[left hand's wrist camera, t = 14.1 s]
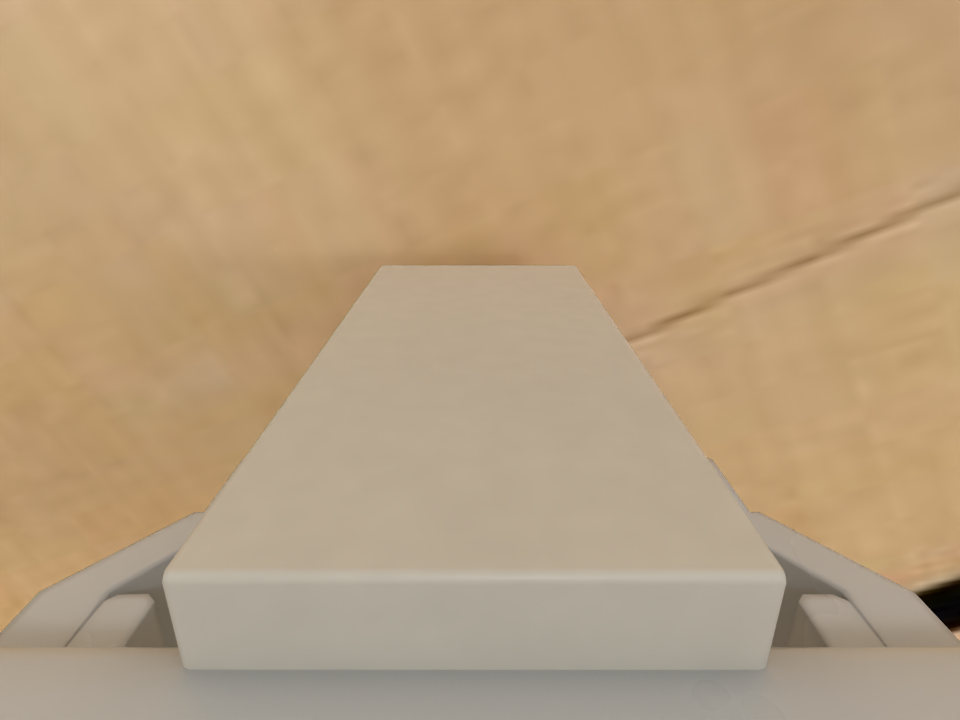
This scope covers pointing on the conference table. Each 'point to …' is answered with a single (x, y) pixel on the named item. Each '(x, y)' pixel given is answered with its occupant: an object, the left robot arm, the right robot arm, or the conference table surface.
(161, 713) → the left robot arm
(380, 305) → the brick
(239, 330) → the conference table surface
